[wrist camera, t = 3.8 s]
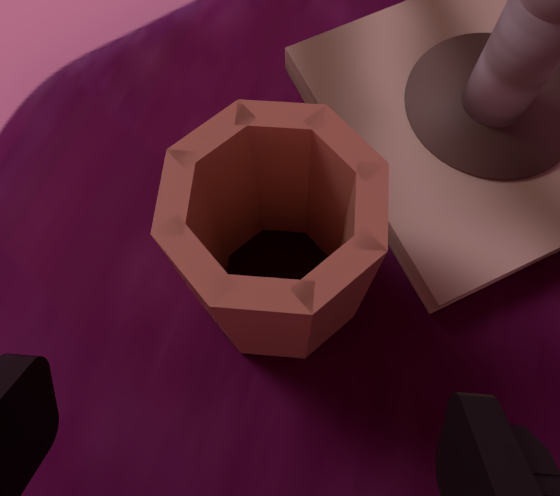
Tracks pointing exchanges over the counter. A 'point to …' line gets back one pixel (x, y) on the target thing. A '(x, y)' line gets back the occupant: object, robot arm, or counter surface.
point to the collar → (274, 219)
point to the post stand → (452, 131)
